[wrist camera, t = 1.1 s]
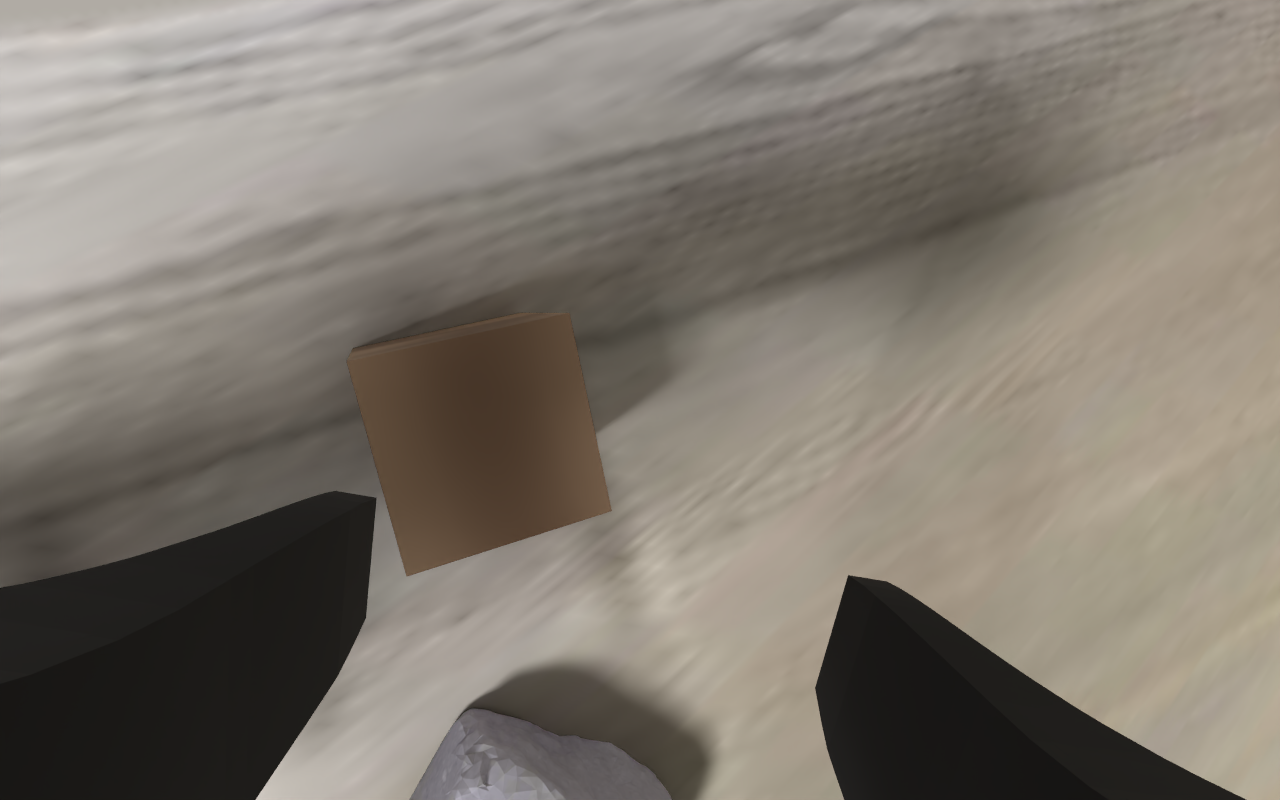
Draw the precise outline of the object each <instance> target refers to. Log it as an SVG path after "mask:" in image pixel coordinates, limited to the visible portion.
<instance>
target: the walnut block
mask: <svg viewBox="0 0 1280 800" xmlns="http://www.w3.org/2000/svg"><path fill="white" fill-rule="evenodd" d="M347 365H348V368H349V372H350V375H351V379H352V383H353V386H354V390H355V393H356V397H357V400H358V404H359V408H360V411H361V415H362V418H363V422H364V425H365V429H366V433H367V436H368V440H369V443H370V447H371V451H372V454H373V458H374V461H375V465H376V468H377V472H378V476H379V479H380V483H381V486H382V490H383V494H384V497H385V501H386V504H387V508H388V511H389V515H390V519H391V522H392V526H393V529H394V533H395V537H396V540H397V544H398V547H399V551H400V554H401V558H402V562H403V565H404V569H405V572H406V576H410V575H413V574H416V573H419V572H422V571H425V570H429V569H432V568H435V567H438V566H441V565H444V564H447V563H450V562H454V561H457V560H460V559H463V558H466V557H469V556H472V555H475V554H479V553H482V552H485V551H488V550H491V549H494V548H497V547H500V546H504V545H507V544H510V543H513V542H516V541H519V540H522V539H525V538H529V537H532V536H535V535H538V534H541V533H544V532H547V531H550V530H554V529H557V528H560V527H563V526H566V525H569V524H572V523H575V522H579V521H582V520H585V519H588V518H591V517H594V516H597V515H601V514H604V513H607V512H610V511H612V510H611V506H610V501H609V496H608V492H607V487H606V482H605V477H604V473H603V468H602V463H601V459H600V454H599V449H598V445H597V440H596V435H595V431H594V426H593V421H592V417H591V412H590V407H589V403H588V398H587V393H586V389H585V384H584V379H583V375H582V370H581V365H580V360H579V356H578V351H577V346H576V342H575V337H574V332H573V328H572V323H571V318H570V314H569V313H517V314H512V315H507V316H503V317H498V318H493V319H489V320H484V321H479V322H474V323H470V324H465V325H460V326H456V327H451V328H446V329H442V330H437V331H432V332H427V333H423V334H418V335H413V336H409V337H404V338H399V339H395V340H390V341H385V342H381V343H376V344H371V345H366V346H362V347H357V348H353V349H352V351H351V353H350V355H349V358H348V360H347Z"/></svg>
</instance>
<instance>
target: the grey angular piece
mask: <svg viewBox="0 0 1280 800" xmlns="http://www.w3.org/2000/svg"><path fill="white" fill-rule="evenodd" d="M410 800H672V799H671V796H670V794H669V793H668V791H667V790H666V788H665V787H664V786H663V784H662V783H661V782H660V781H659V780H658V779H657V778H656V775H655V773H653V772H652V771H651V770H650V769H649V768H647V767H646V766H645V765H642V764H640V763H638V762H637V761H636V760H634V759H633V758H631V757H630V756H629V755H628V754H627V753H626V752H624V751H623V750H622V749H620V748H618V747H616V746H615V745H613V744H612V743H610V742H601V741H595V740H588V739H583V738H580V737H579V736H577V735H570V736H559V735H556V734H554V733H552V732H549V731H545V730H543V729H542V728H541V727H539V726H538V725H534V724H532V723H531V722H529V721H526V720H521V719H517V718H514V717H510V716H506V715H502V714H497V713H494V712H492V711H490V710H484V709H469V710H467V711H466V712H464V713H463V714H462V715H461V716H460V718H459V719H458V720H457V721H456V722H455V723H454V724H453V725H452V727H451V728H450V730H449V732H448V733H447V735H446V736H445V738H444V740H443V741H442V743H441V745H440V747H439V748H438V750H437V752H436V754H435V755H434V757H433V759H432V761H431V763H430V764H429V766H428V768H427V770H426V772H425V773H424V775H423V777H422V779H421V780H420V782H419V784H418V786H417V787H416V789H415V791H414V793H413V795H412V796H411V798H410Z"/></svg>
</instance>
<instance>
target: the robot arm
mask: <svg viewBox="0 0 1280 800" xmlns="http://www.w3.org/2000/svg"><path fill="white" fill-rule="evenodd" d="M375 508H376V498H374V497H368V496H362V495H356V494H350V493H344V492H338V491H333V492H328V493H324V494H320V495H317V496H314V497H311V498H308V499H305V500H302V501H299V502H296V503H293V504H290V505H287V506H285V507H282V508H279V509H276V510H273V511H271V512H268V513H265V514H262V515H260V516H257V517H254V518H251V519H248V520H246V521H243V522H240V523H237V524H234V525H232V526H229V527H226V528H223V529H220V530H217V531H214V532H211V533H208V534H205V535H202V536H199V537H196V538H192V539H189V540H186V541H183V542H180V543H177V544H174V545H170V546H167V547H164V548H161V549H158V550H155V551H152V552H149V553H145V554H142V555H139V556H135V557H132V558H128V559H125V560H121V561H117V562H113V563H110V564H106V565H102V566H98V567H94V568H90V569H86V570H82V571H77V572H73V573H69V574H65V575H61V576H56V577H52V578H48V579H43V580H39V581H34V582H29V583H25V584H19V585H14V586H8V587H3V588H0V800H255V799H256V798H257V796H258V795H259V793H260V792H261V791H262V789H263V788H264V786H265V785H266V783H267V782H268V780H269V779H270V777H271V776H272V774H273V773H274V771H275V770H276V768H277V767H278V765H279V764H280V762H281V761H282V759H283V758H284V756H285V755H286V753H287V752H288V750H289V749H290V747H291V746H292V744H293V743H294V741H295V740H296V738H297V737H298V735H299V734H300V732H301V731H302V730H303V728H304V727H305V725H306V724H307V722H308V721H309V719H310V718H311V716H312V714H313V713H314V711H315V710H316V708H317V707H318V705H319V704H320V702H321V701H322V699H323V698H324V696H325V695H326V693H327V692H328V690H329V689H330V687H331V686H332V684H333V682H334V681H335V679H336V678H337V676H338V674H339V672H340V670H341V668H342V666H343V664H344V662H345V660H346V658H347V656H348V654H349V653H350V651H351V648H352V646H353V644H354V642H355V640H356V638H357V636H358V634H359V632H360V629H361V627H362V625H363V623H364V621H365V619H366V610H367V599H368V587H369V576H370V565H371V553H372V542H373V531H374V520H375ZM815 689H816V695H817V700H818V706H819V711H820V717H821V722H822V727H823V731H824V736H825V740H826V745H827V750H828V753H829V756H830V759H831V762H832V765H833V768H834V771H835V774H836V777H837V780H838V783H839V786H840V788H841V791H842V794H843V797H844V800H1246V799H1244V798H1242V797H1240V796H1238V795H1236V794H1233V793H1231V792H1229V791H1227V790H1225V789H1223V788H1221V787H1219V786H1217V785H1215V784H1213V783H1211V782H1209V781H1207V780H1205V779H1203V778H1201V777H1199V776H1197V775H1195V774H1193V773H1191V772H1189V771H1187V770H1185V769H1183V768H1181V767H1180V766H1178V765H1176V764H1174V763H1172V762H1170V761H1168V760H1166V759H1164V758H1162V757H1161V756H1159V755H1157V754H1155V753H1153V752H1152V751H1150V750H1148V749H1146V748H1145V747H1143V746H1141V745H1139V744H1137V743H1136V742H1134V741H1132V740H1130V739H1129V738H1127V737H1125V736H1123V735H1122V734H1120V733H1118V732H1116V731H1115V730H1113V729H1111V728H1109V727H1107V726H1106V725H1104V724H1102V723H1101V722H1099V721H1097V720H1096V719H1094V718H1092V717H1091V716H1089V715H1087V714H1086V713H1084V712H1082V711H1081V710H1079V709H1077V708H1076V707H1074V706H1073V705H1071V704H1069V703H1068V702H1066V701H1065V700H1063V699H1062V698H1060V697H1059V696H1057V695H1056V694H1054V693H1052V692H1051V691H1049V690H1048V689H1046V688H1045V687H1043V686H1042V685H1040V684H1039V683H1037V682H1035V681H1034V680H1032V679H1031V678H1029V677H1028V676H1026V675H1025V674H1023V673H1022V672H1020V671H1019V670H1018V669H1016V668H1015V667H1013V666H1012V665H1010V664H1009V663H1007V662H1006V661H1004V660H1003V659H1001V658H1000V657H999V656H997V655H996V654H994V653H993V652H991V651H990V650H989V649H987V648H986V647H984V646H983V645H981V644H980V643H979V642H977V641H976V640H974V639H973V638H972V637H970V636H969V635H967V634H966V633H965V632H963V631H962V630H960V629H959V628H958V627H956V626H955V625H953V624H952V623H950V622H949V621H948V620H946V619H945V618H943V617H942V616H941V615H939V614H938V613H936V612H935V611H933V610H932V609H931V608H929V607H928V606H926V605H925V604H923V603H922V602H920V601H919V600H917V599H916V598H914V597H913V596H911V595H910V594H908V593H907V592H905V591H903V590H902V589H900V588H898V587H896V586H894V585H893V584H891V583H889V582H886V581H880V580H874V579H868V578H862V577H856V576H850V575H848V578H847V581H846V585H845V588H844V592H843V595H842V598H841V602H840V605H839V609H838V612H837V616H836V619H835V622H834V626H833V629H832V633H831V636H830V639H829V643H828V646H827V650H826V653H825V656H824V660H823V663H822V667H821V670H820V674H819V677H818V680H817V684H816V687H815Z"/></svg>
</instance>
